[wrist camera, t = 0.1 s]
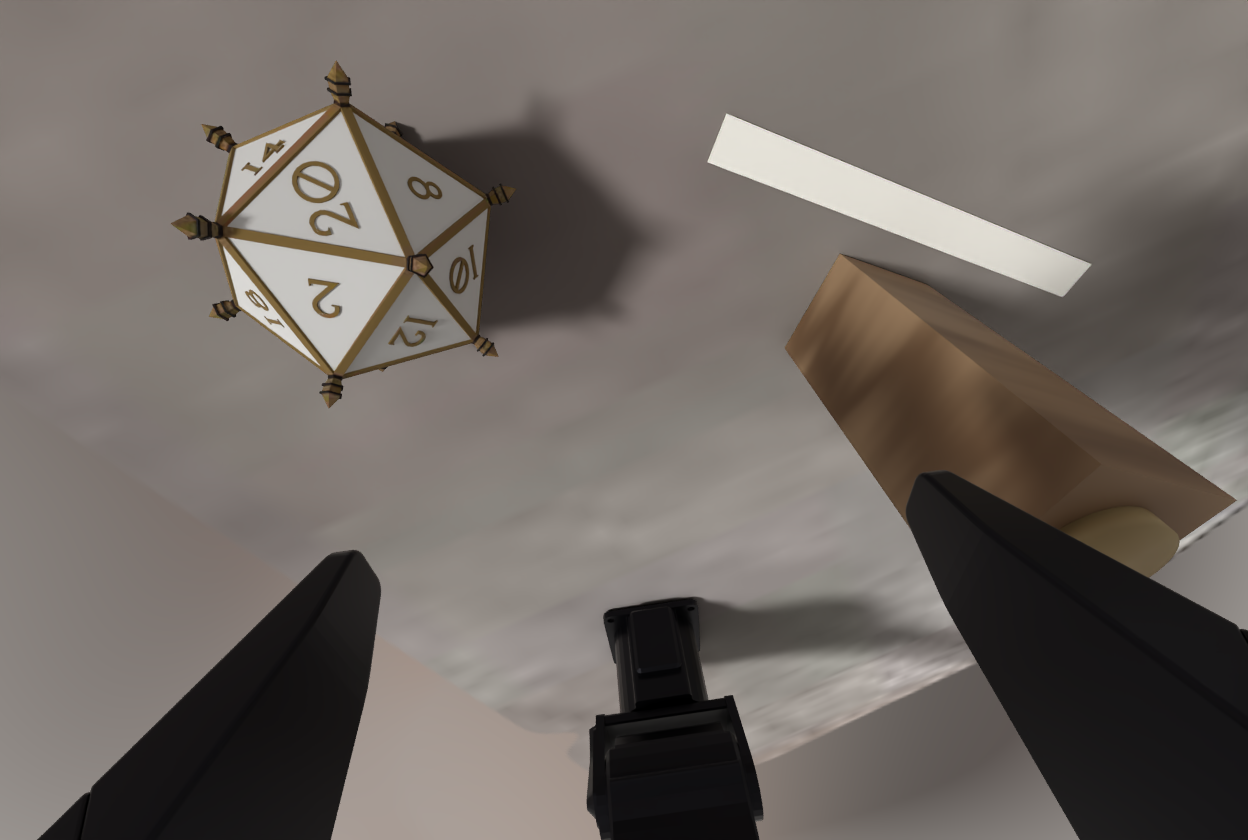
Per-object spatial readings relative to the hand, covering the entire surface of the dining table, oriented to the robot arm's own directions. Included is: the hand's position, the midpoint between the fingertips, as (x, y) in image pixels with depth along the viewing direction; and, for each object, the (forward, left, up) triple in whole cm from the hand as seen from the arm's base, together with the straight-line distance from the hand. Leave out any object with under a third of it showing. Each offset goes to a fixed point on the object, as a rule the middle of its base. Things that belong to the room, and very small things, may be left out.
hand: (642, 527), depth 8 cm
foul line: (-1, -13, -15) cm, 19 cm away
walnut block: (-5, -11, -15) cm, 19 cm away
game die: (+2, +7, -15) cm, 17 cm away
